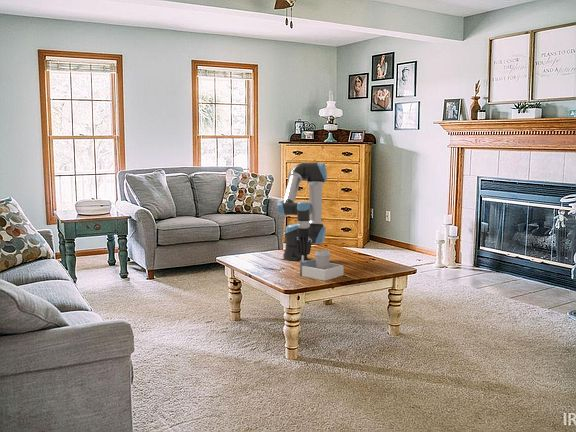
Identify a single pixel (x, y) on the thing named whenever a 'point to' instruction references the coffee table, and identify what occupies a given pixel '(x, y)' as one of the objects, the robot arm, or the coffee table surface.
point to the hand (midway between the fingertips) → (304, 265)
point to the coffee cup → (322, 259)
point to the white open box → (322, 272)
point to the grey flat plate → (310, 263)
